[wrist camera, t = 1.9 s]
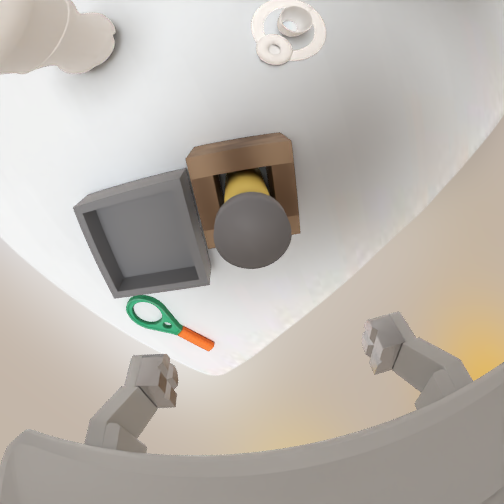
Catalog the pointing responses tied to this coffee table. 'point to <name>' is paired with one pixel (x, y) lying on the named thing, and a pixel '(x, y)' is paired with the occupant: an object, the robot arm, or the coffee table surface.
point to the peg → (250, 222)
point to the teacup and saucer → (287, 31)
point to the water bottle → (52, 37)
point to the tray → (146, 235)
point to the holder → (241, 158)
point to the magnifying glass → (166, 317)
